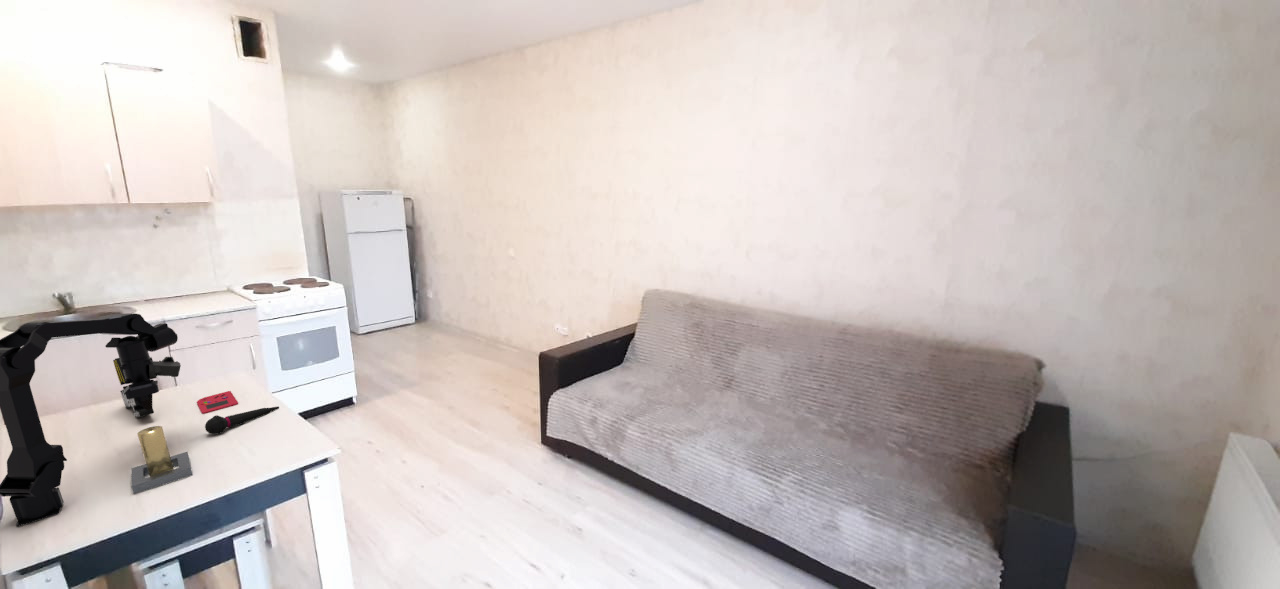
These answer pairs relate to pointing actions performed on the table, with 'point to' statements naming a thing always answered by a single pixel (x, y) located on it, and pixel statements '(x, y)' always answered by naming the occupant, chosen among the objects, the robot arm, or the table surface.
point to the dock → (140, 472)
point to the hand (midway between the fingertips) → (149, 409)
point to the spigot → (155, 450)
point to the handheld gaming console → (216, 402)
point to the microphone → (234, 420)
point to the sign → (129, 403)
